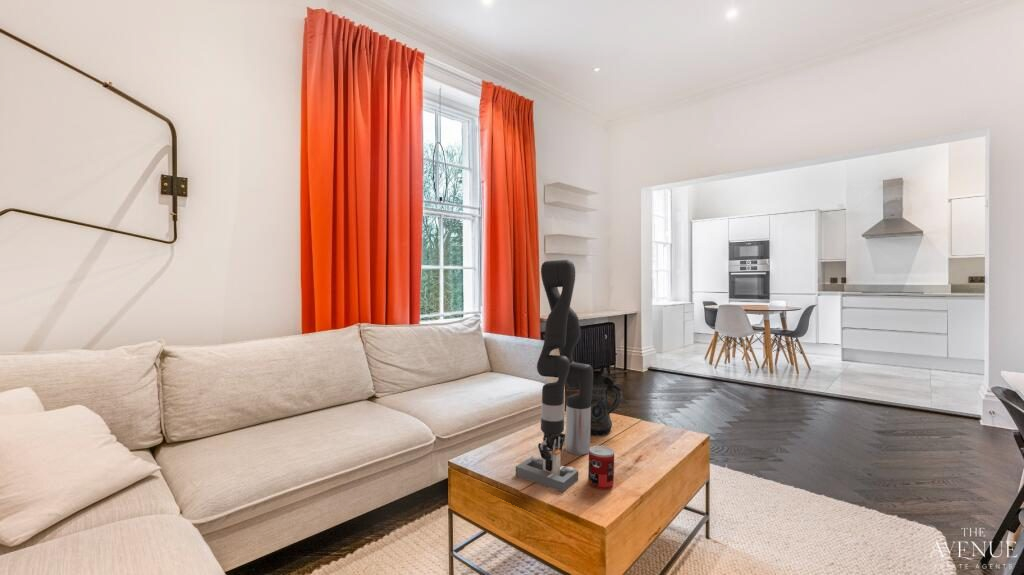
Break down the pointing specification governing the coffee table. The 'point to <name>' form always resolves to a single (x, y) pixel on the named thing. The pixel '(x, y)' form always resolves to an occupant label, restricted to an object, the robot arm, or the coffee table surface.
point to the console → (546, 474)
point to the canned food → (601, 467)
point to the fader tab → (554, 462)
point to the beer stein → (602, 403)
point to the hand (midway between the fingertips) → (551, 468)
